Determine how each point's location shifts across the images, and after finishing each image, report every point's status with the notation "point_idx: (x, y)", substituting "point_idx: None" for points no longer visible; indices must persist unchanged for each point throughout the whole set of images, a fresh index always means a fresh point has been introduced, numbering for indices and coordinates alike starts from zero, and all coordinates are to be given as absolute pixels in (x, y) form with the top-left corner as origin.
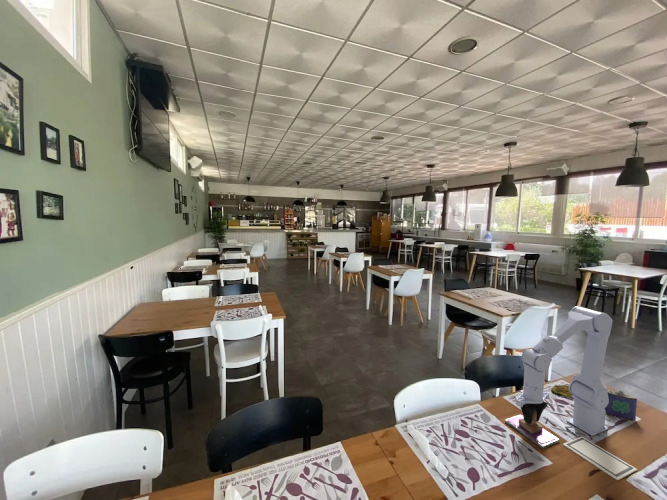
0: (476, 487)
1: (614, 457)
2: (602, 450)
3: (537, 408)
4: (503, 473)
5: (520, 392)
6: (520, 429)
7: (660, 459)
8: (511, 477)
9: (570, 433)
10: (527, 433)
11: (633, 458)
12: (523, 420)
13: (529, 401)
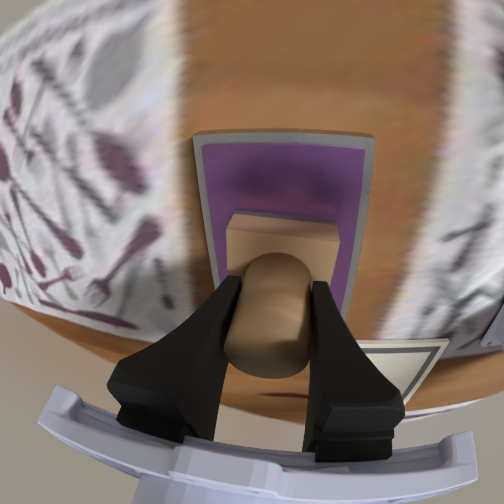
0: (7, 294)
1: (402, 397)
2: (411, 384)
3: (311, 394)
4: (50, 304)
5: (176, 447)
6: (213, 236)
7: (475, 401)
8: (62, 317)
9: (445, 316)
10: (218, 274)
11: (441, 397)
12: (249, 249)
13: (133, 475)
